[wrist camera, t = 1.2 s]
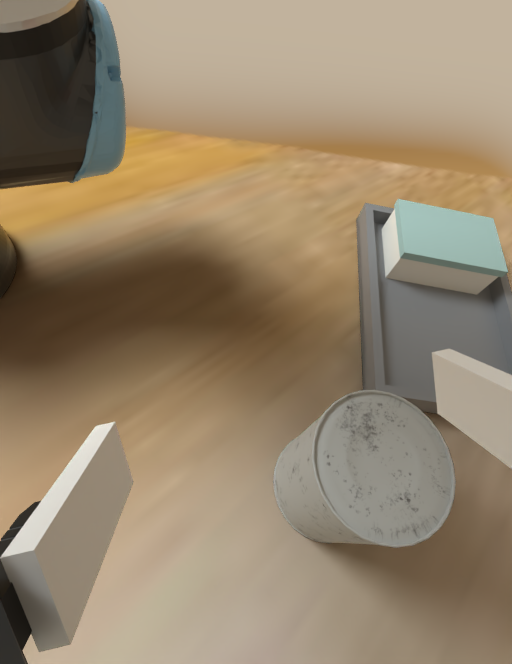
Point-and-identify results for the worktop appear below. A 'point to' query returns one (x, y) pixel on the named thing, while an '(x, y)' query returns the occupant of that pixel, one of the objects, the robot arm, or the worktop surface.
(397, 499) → the speckled grey can
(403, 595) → the worktop surface
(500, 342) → the tote tray
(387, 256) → the teal sponge
